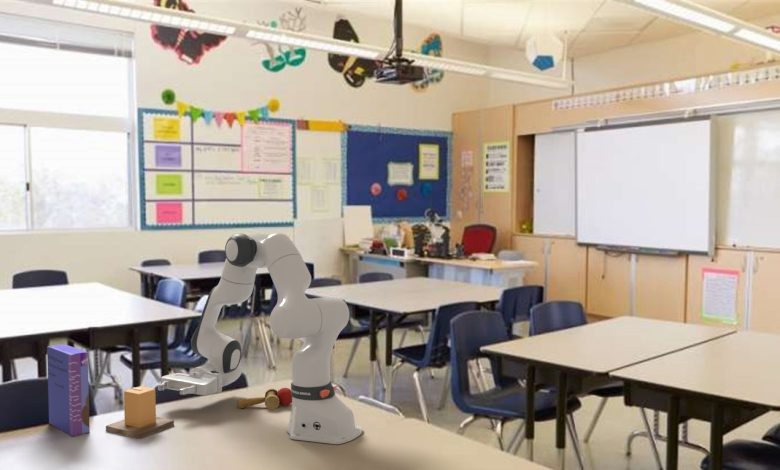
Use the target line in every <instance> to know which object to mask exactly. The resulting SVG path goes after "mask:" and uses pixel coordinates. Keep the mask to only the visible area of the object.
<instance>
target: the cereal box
mask: <svg viewBox="0 0 780 470" xmlns="http://www.w3.org/2000/svg"><path fill="white" fill-rule="evenodd" d="M46 352H47V353H46V354H47V356H46V357H47V360H46V361H47V390H48V393H47V394H48V395H47V397H48V399H47V401H48V424H49V425H51V426H53V427H54V428H56V429H59V430H60V431H62V432H63V433H65V434H68V435H69V436H70V437H78V436H82V435H85V434H86V435H87V434H90V433H91V431H90V427H91V426H90V394H89V393H90V391H89V390H90V389H89V387H90V385H89V382H90V381H89V352H88V351H85V350H83V349H79V348H76V347H73V346H70V345H68V344H65V343H58V344H51V345H48V346H46Z"/></svg>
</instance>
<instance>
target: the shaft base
mask: <svg viewBox="0 0 780 470" xmlns="http://www.w3.org/2000/svg"><path fill="white" fill-rule="evenodd" d="M174 422H175V420H174V419H173V420H172V419H168V418H165V417H160V416H156V422H154V423H151V424H149V425H146V426H143V427H141V428H138V427H134V426H130V425H125V418H124V419H121V420H119V421H116V422H113V423H110V424H108V425H106V426H105V431H106V432H110V433H113V434H114V433H115V434H118V435H122V436H126V437H130V438H134V439H138V440H139V439H143V438H145V437H147V436H150V435H152V434H155V433H158V432H160V431H162V430H165V429H167V428H170V427H173V426H175V423H174Z"/></svg>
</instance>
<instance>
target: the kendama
mask: <svg viewBox="0 0 780 470" xmlns="http://www.w3.org/2000/svg"><path fill="white" fill-rule="evenodd" d="M264 394H265V395H264V396H260V397H259V396H258V397H252V398H251V397H250V398H242V399H238V400H237V403H238V409H240V408H241V409H244V408H247V407H252V406H256V405H261V404H264V406H265V407H266V409H269V410H275V409H277V408H278V407H279V406H281V407H288V406H290V405H292V397H291V388H289V387H282V388H280V389H276V388H269V389H267V390H266V391H265V393H264ZM241 409H240V410H241Z"/></svg>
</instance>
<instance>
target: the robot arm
mask: <svg viewBox="0 0 780 470" xmlns="http://www.w3.org/2000/svg"><path fill="white" fill-rule="evenodd" d="M224 254H225V261H224V264H223V267H222V271H221V276H220V280H219V282H218V284H217V285H216V286H214V287H213V288H212V289H211V290H210V292H209V293H208V296H207V298H206V301H205V303H204V307H203V310H202V312H201V315H200V319H199V321H198V324H197V327H196V328H195V331H194V332H193V334H192V336H191V340H190V346H191V350H192V352H193V353H194V355H198V356H200V357H203V358H206V359H207V360H209V363H207V364H204V365H200V366H197V367H193V368H192V369H191V371H190V372H189V373H188V374H187V373H182V372H177V373H171V374H170V373H169V374H166V375H163V376H161V377H160V383H159V384H158V385H157V390H158V391H162V392H163V391H165V390H166V389H167V390H173V391H178V392H179V395H183V396H185V395H188V394H194V395H197V396H198V395H199V396H210V395H214V394H220V393H222V390H223V387H225V386H229V385H230V384H232V383H235V381H237V380H238V379H239V378H240V376H241V375H242V372H243V366H242V363H241V360H242V345H241V344H240V342H239V341H238V340H237V339H235V338H232V337H231V336H228V335H225V334H224V333H223V332H222V333H221V332H220V331H218V330H217V328H216V324H217V321H218V318H219V316H220V312H221V311H222V310H221V309H222V308H223V307H224V306H225V305H227V306H232V305H238V304H241V303H244V302H246V301H247V300H248V299H249V298H250V297H251V295H252V294H253V290H254V286H255V281H256V275H257V271H258V268H259V269H261V268H263V269H264V268H266V269H267V271H268V273H269V275H270V277H271V280H272V283H273V285H274V287H275V290H276V293H277V302H276V305H275V306H274V307H273V309H272V310H271V312H270V315H269V326H270V329H271V331H272V333H273V334H274V335H275V336H276V337H277V338H279V339H287V340H296V339H303V338H305V340H304V342H303V344H302V346H301V347H300V348H299V349H298V350H296V352H294V354H293V356H292V359H291V360H292V361H291V368H292V369H291V370H292V373H291V375H292V376H291V377H292V379H291V381H292V382H291V383H290V390H291V397H292V403H291V408H290V409H291V410H290V416H289V417H290V418H289V422H288V426H287V429H286V431H287V433H288V434H289V439H291V440H299V441H304V442H306V441H307V442H312V443H321V444H323V443H324V444H331V445H341V444H345V443H348V442H351V441H352V440H355V439H356V438H358V437H359V436H360V435H362V433H363V430H364V429H363V427H362V426H360V425H357V424H356V421H355V416H354V412H353V410H352V409H351V408H350V407H349V406H347V405H346V404H345V403H344V402H343V401H342V400H341V399H340V398H339V397H338V396H337V395H336V392H335V391H336V390H338V387H339V386H338V385H334V386H333V384H332V381H331V379H330V378H331V377H330V376H331V357H332V351H333V348H334V345H335V343H336V340H337V339H338V336H339V334H341V332H342V331H343V329H344V328H346V327H347V325H348V323H349V320H350V308H349V307H348V304H347V303H346V301H345V300H343V299H342V298H339V297H332V296H322V297H314V298H309V297H307V296H306V293H305V292H306V291H307V290H308V289H309V287H310V285H311V282H312V275H311V273H310V270H309V269H308V267H307V265H306V263H305V260H304V258H303V256H302V254H301V252H300V251H299V250H298V248H297V246H296V245H295V244H294V242H293V241H292V240H291V238H290V236H288V235H287V234H285V233H282V232H276V233H275V232H274V233H272V234H269V233H268V234H266V233H260V232H259V233H258V232H254V233H253V232H252V233H236V234H234V235H231V236H229V238H228V239H227V240H226V243H225V247H224Z"/></svg>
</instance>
